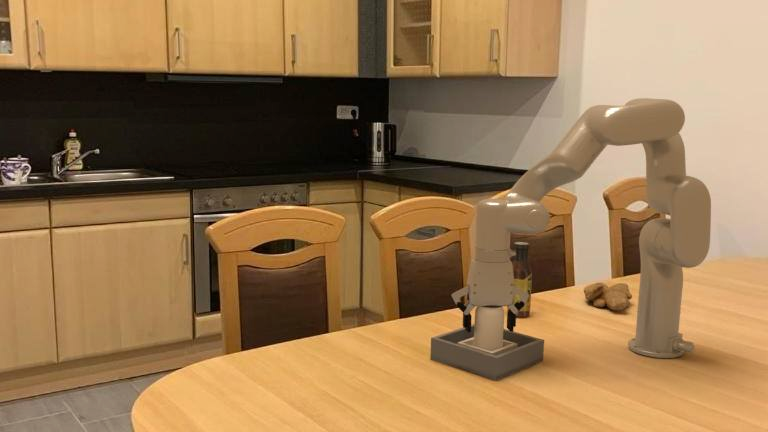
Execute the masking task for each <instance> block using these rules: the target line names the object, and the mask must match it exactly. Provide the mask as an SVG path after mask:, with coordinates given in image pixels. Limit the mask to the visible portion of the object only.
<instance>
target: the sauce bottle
mask: <svg viewBox="0 0 768 432" xmlns="http://www.w3.org/2000/svg"><path fill="white" fill-rule="evenodd" d="M529 249H530V243H529V242H523V241H516V242H514V243H513V250H515V251H516V256H513V261H511V262H512V266H513V274H514V286H515V287H517V288H519V289H521V290H523V291H524V292H526V293H528V294H529V297H528V299H527V301H526V302H525V305H524V307H522V308H521V309H520V310H519V311H518V314H516V318H526V317H529V316H530V315H531V314H530V313H531V305H532V304H531V302H532V300H531V299H532V279H533V271H532V268H531V265H530V261H529ZM519 299H520V296H519V295H517V294H516V293H514V302H513V305H514V304H515V303H516V302H517V301H519ZM506 309H507V312H508V311H509V308H508V307H507V306H506Z"/></svg>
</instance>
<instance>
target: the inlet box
mask: <svg viewBox="0 0 768 432" xmlns="http://www.w3.org/2000/svg"><path fill="white" fill-rule="evenodd" d="M474 326H475V323H472V324H471V332H467V331H466V329H465V328H464V327H463V326H462V327H460V328H457V329H454V330H452V331H451V330H450V331H449V332H448V331H447V332H446V333H442V334H440V335H435V336H432V337H431V338H430V357H429V358H430V359H429V360H432V361H435V362H437V363H440V364H443V365H447V366H450V367H452V368H455V369H459V370H461V371H464V372H467V373H469V374H472V375H473V374H474V375H476V376H480V377H482V378H486V379H489V380H492V381H495V382H496V381H499V380H502V379H504V378H506V377H509V376H511V375H514V374H516V373H519V372H521V371H523V370H526V369H528V368H530V367H532V366H535V365H538V364H540V363H541V362H544V351H545V350H544V349H545V339H541V338H539V337H535V336H531V335H529V334H524V333H520V332H516V331H514V330H513V332H511V331H509V330H508V329H507V328H504V330H503V347H502V348H500V349H497V350H494V351H492V352H491V351H488V350H485V349H482V348H478V347H475V346H474Z"/></svg>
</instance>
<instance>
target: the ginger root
mask: <svg viewBox="0 0 768 432" xmlns="http://www.w3.org/2000/svg"><path fill="white" fill-rule="evenodd" d="M629 289H630V288H629V285H628V284H627V283H622V282H621V283H615V284H613V285H611V286H608V285H607V284H606V283H604V282H596V283H592V284H588V285H587V286H584V287H583V293H584V297H585V299H586V301H590V302H593V306H594V307H595V308H604V307H607V308H608V309H609V310H611V311H612V310H613V311H621V310H625V309H626V308H627V307H628V306H629V305H630V300H632V299H633V293H631V292H630V290H629Z"/></svg>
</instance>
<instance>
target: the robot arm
mask: <svg viewBox="0 0 768 432" xmlns="http://www.w3.org/2000/svg"><path fill="white" fill-rule="evenodd" d="M685 114H686V113H685V111H684V109H683V108H682V106H681V105H680V104H679V103H678V102H676V101H674V100H672V99H667V98H647V97H646V98H645V97H644V98H643V97H642V98H635V99H634V98H633V99H632V100H629V101H628V102H626V103H625V104H624V105H610V104H597V105H593V106H590V107H589V108H587V109H586V110H585V111H584V112H583V113H582V115H580V117H579V118H578V120H576V121H575V123H574V124H573V125H572V126H571V128H570V129H569V130H568V131H567V132H566V134H565V135H564V137H562V139H561V140H560V141H559V142H558V145H557V146H555V148H554V149H553V150H552V151H551V152H550V154H548V155H547V156H545V158H543V159H541V160H540V161H539V162H538V163H537V164H535V165H534V166H533V167H531V168H529V170H527V171H526V172H525V173H524V174H522V176H521V177H520V178H519V179H518V180H517V181H516V182H515V183H514V185H513V186H512V187H511V188H510V190H509V191H508V192H507V193H506V195H505V196H504V198H503V199H500V198H485V199H481V200H480V201H478V202H477V205H476V216H475V217H476V221H475V222H476V223H475V224H476V225H475V246H474V247H475V248H474V249H475V250H474V258H473V259H471V260H470V264H469V268H468V273H467V280H466V286H464V287H462V288H461V289H458V290H457V291H456V290H455V292H453V293H451V298H452V299H453V302H454V303H455V305H456V307H457V309H459V310H460V311H461V312H462V328H463V327H464V328H465V329H466V331H467V332H471V325H472V314H471V312H472V311H473V310H475V307H476V308H477V307H482V306H483V307H501V306H502V307H506V308H507V307H508V308H509V311H508V310H507V314H506V329H507V330H509V331H511V332H513V331H514V329H515V327H516V326H517V317H516V314H518V311H519V310H520V309H521V308H522V307H524V305H525V302H526V301H527V299H528V297H529V294H528V293H526V292H524V291H523V290H521V289H519V288H517V287H515V286H514V274H513V266H512V262H513V261H511V258H512V257H514V256H516V251H515V250H514V249H511V248H510V247H511V233H516V234H522V235H536V234H540V233H541V232H543V231H545V230H546V228H547V227H548V226H549V223H550V221H551V220H550V219H551V218H550V217H551V216H550V212H549V209H548V208H547V207H546V206H545V205H544V204H543V203H541V201H542V199H544V198H545V196H547V195H548V194H549V193H550V192H552V191H553V190H555V189H556V188H559V187H561V186H565V185H567V184H570V183H574V181H577V180H580V179H581V178H582V177H583V176H584V175H585V173H586V172H588V170H589V169H590V167H591V166H592V164H593V163H594V162H595V160H596V159H597V158H598V157H599V156H600V155H601V154H602V152H603V151H604V150H605V149H606V147H607V146H615V147H616V146H617V147H621V146H631V145H639V144H641V145H642V147H643V149H644V152H645V153H644V155H645V166H646V167H645V200H646V203H647V205H648V207H649V208H650V209H651V210H653V211H655V212H657V213H658V214H659V213H660V214H663V215H667V216H670V218H667V217H655V218H653V219H651V220H648V222H646V223H645V224H644V225H643V226H642V228H641V229H640V233H639V239H638V246H639V255H640V277H639V278H640V279H639V288H638V299H637V300H638V301H637V311H636V312H637V315H636V326H635V327H636V328H635V336H634V337H633V338H631V339H629V340H628V344H627V346H628V349H629V350H631V351H632V352H634V353H635V354H639V355H643V356H646V357H651V358H659V359H674V358H679V357H681V356H683V355H684V352H686V353H690V354H693V353H694V351H695V345H694V342H692V341H687V340H684V339H683V333H681V332H680V333H679V330H680V321H681V320H680V319H681V318H680V317H681V310H682V309H681V308H682V307H681V306H682V297H683V289H684V288H683V286H684V271H683V268H685V269H690V268H696V267H698V266H700V265H701V264H702V263H703V262H704V261H705V260H706V258H707V256H708V253H709V251H710V246H711V245H710V244H711V229H712V227H711V226H712V225H711V223H712V222H711V220H712V199H711V194H710V191H709V189H708V187H707V186H706V184H705V183H704V182H703V181H702V180H701V179H699V178H697V177H694V176H690V175H687V169H686V166H687V165H686V149H685V143H684V141H683V137H682V135H681V133H680V132H681V131H682V129H683V127H684V125H685V121H686V116H685ZM514 293H516V294H517V295H519V296H520V299H519V301H517V302H516V303H515V304H514V305H513V302H514ZM464 296H465V299H466V300H467V301H466V302H465V303H464V304H463V303H462V302H461V298H462V297H464Z"/></svg>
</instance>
